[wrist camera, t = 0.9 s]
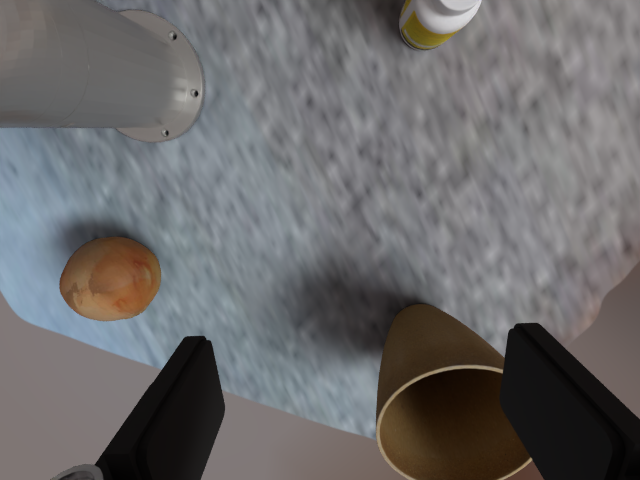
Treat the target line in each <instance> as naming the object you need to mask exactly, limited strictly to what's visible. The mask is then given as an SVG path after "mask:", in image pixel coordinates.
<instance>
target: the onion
mask: <svg viewBox="0 0 640 480" xmlns="http://www.w3.org/2000/svg"><path fill="white" fill-rule="evenodd" d="M160 282H161V269H160V265H159V262H158V260H157V258H156V256H155V255H154V254H153V253H152V252H151V251H150V250H149V249H147V248H146V247H145V246H143V245H142V244H140V243H138V242H136V241H134V240H132V239H128V238H124V237H106V238H98V239H94V240H91V241H89V242H87V243H85V244H84V245H82V246H81V247H80V248H79V249H78V250H77V251H75V253H74V254H73V255H72V256H71V257H70V259H69V260H68V262H67V264H66V266H65V268H64V270H63V272H62V275H61V278H60V292H61V295H62V297H63V298H64V300H65V301H66V303H67V304H68V305H69V307H71V308H72V309H73V310H74V311H75V312H76V313H78V314H79V315H81V316H84V317H86V318H89V319H93V320H98V321H115V320H120V319H128V318H132V317H134V316H137V315H139V314H140V313H142V312H143V311H144V310H145V309H146V308H147V306H148V305H149V304H150V302H151V301H152V300H153V298H154V297H155V295H156V294H157V292H158V289H159V287H160Z"/></svg>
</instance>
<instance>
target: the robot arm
mask: <svg viewBox="0 0 640 480" xmlns="http://www.w3.org/2000/svg"><path fill="white" fill-rule="evenodd" d="M175 36H177V38H176V40H175ZM196 92H198V96H196ZM204 98H205V78H204V73H203V68H202V65H201V62H200V60H199V57H198V55H197V53H196V51H195V49H194V48H193V46H192V44H191V43H190V42H189V40H188V39H187V38H186V37H185V35H184V34H183V33H182V32H181V31H180V30H178V29H177V28H176V27H175V26H174V25H172V24H171V23H169V22H168V21H166V20H165V19H163V18H161V17H159V16H157V15H155V14H153V13H149V12H146V11H142V10H125V11H120V12H115V11H113V10H111V9H109V8H108V7H106V6H104V5H102V4H100V3H98V2H96V1H94V0H0V128H115V129H117V130H118V131H119V132H121V133H123V134H124V135H126V136H128V137H130V138H133V139H136V140H139V141H144V142H150V143H152V142H164V141H170V140H173V139H175V138H178V137H180V136H181V135H183V134H184V133H186V132H187V131H188V130H189V129H190V128H191V127H192V126H193V125H194V123H195V122H196V120H197V119H198V117H199V115H200V113H201V110H202V107H203V104H204ZM167 131H168V132H169V135H168V134H167ZM499 401H500V405H501V408H502V410H503V412H504V414H505V415H506V417H507V419H508V420H509V422H510V424H511V425H512V427H513V428H514V430H515V432H516V433H517V435H518V437H519V438H520V440H521V442H522V443H523V445H524V447H525V448H526V450H527V452H528V453H529V455H530V457H531V458H532V460H533V462H534V463H535V465H536V467H537V468H538V470H539V472H540V473H541V475H542V477H543V478H544V480H640V419H639V418H638V417H637V416H636V415H635V414H633V413H632V412H631V411H630V410H629V409H628V408H627V407H626V406H625V405H624V404H623V403H622V402H621V401H620V400H619V399H618V398H617V397H616V396H615V395H614V394H612V393H611V392H610V391H609V390H608V389H607V388H606V387H605V386H604V385H603V384H602V383H601V382H600V381H599V380H598V379H597V378H596V377H595V376H594V375H593V374H591V373H590V372H589V371H588V370H587V369H586V368H585V367H584V366H583V365H582V364H581V363H580V362H579V361H578V360H577V359H576V358H575V357H574V356H573V355H572V354H570V353H569V352H568V351H567V350H566V349H565V348H564V347H563V346H562V345H561V344H560V343H559V342H558V341H557V340H556V339H555V338H554V337H553V336H552V335H551V334H550V333H548V332H547V331H546V330H545V329H544V328H543V327H542V326H541V325H540V324H538V323H518V324H516V325H515V326H514V329H510V330H509V333H508V339H507V346H506V353H505V360H504V367H503V374H502V381H501V388H500V395H499ZM224 412H225V404H224V399H223V394H222V389H221V384H220V380H219V375H218V370H217V365H216V361H215V356H214V351H213V347H212V343H211V341H210V340H206V338H205V336H187V337H185V338H184V339H183V340H182V342H181V343H180V344H179V346H178V347H177V349H176V350H175V352H174V353H173V355H172V356H171V357H170V359H169V360H168V362H167V363H166V365H165V366H164V368H163V369H162V370H161V372H160V373H159V375H158V376H157V378H156V379H155V381H154V382H153V383H152V384H151V385H150V386H149V388H148V389H147V391H146V392H145V393H144V395H143V396H142V398H141V399H140V400H139V402H138V404H137V405H136V406H135V408H134V409H133V411H132V412H131V414H130V415H129V416H128V418H127V419H126V421H125V422H124V423H123V425H122V426H121V428H120V429H119V431H118V432H117V433H116V435H115V436H114V438H113V439H112V441H111V442H110V443H109V445H108V447H107V448H106V449H105V451H104V452H103V453H102V455H101V456H100V458H99V459H98V461H97V462H96V464H95V465H91V464H83V465H79V466H75V467H72V468H70V469H68V470H65V471H63V472H61V473H60V474H58V475H57V476H55V477H53V478H52V479H50V480H201V477H202V474H203V471H204V469H205V466H206V463H207V460H208V458H209V455H210V453H211V450H212V447H213V444H214V441H215V439H216V436H217V434H218V431H219V428H220V425H221V423H222V420H223V417H224Z"/></svg>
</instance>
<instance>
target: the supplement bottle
mask: <svg viewBox="0 0 640 480" xmlns="http://www.w3.org/2000/svg"><path fill="white" fill-rule="evenodd" d="M481 1H482V0H406V1H405V3H404V5H403V7H402V10H401V13H400V17H399V29H400V33H401V36H402V38H403V40H404V41H405V42H406V44H407V45H409V46H410V47H411V48H413V49H415V50H419V51H428V50H431V49H434V48H436V47H438V46H440V45H441V44H443V43H444V42H445V41H446V40H448V39H449V38H450V37H451V36H453V35H454V34H455V33H456V32H458V31H459V30H460V29H461V28H463V27H464V26H465V25H466V24H467V23H468V22H469V21H470V20H471V19H472V18H473V16H474V15H475V14H476V12H477V10H478V8H479V6H480V4H481Z"/></svg>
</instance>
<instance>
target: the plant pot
mask: <svg viewBox="0 0 640 480" xmlns="http://www.w3.org/2000/svg"><path fill="white" fill-rule="evenodd" d="M504 360H505V358H504V357H503V356H502V355H501V354H500V353H499V352H498V351H496V350H495V349H494V348H493V347H492V346H491V345H490V344H488V343H487V342H486V341H485V340H484V339H482V338H481V337H480V336H479V335H478V334H476V333H475V332H474V331H472V330H471V329H470V328H468V327H467V326H466V325H464V324H463V323H461V322H460V321H458V320H457V319H455V318H454V317H452V316H450V315H449V314H447V313H445V312H443V311H441V310H440V309H438V308H436V307H433V306H431V305H427V304H416V305H411V306H409V307H406V308H404V309H403V310H401V311H400V312H399V313H398V314H397V315H396V316H395V318H394V320H393V322H392V324H391V327H390V329H389V332H388V335H387V338H386V342H385V346H384V350H383V355H382V360H381V366H380V372H379V381H378V391H377V410H376V439H377V444H378V447H379V450H380V452H381V453H382V456H383V457H384V459H385V460H386V461H387V462H388V464H389V465H390V466H391V467H392V468H393V469H394V470H396V471H397V472H398V473H399V474H401V475H402V476H404V477H406V478H407V479H409V480H504V479H505V478H507V477H509V476H511V475H513V474H515V473H516V472H518V471H519V470H521V469H522V468H523V467H525V466H526V465H527V464H528V463H529V462H530V461H531V460H532V458H531V457H530V455H529V453H528V452H527V450H526V448H525V447H524V445H523V443H522V442H521V440H520V438H519V437H518V435H517V433H516V432H515V430H514V428H513V427H512V425H511V424H510V422H509V420H508V419H507V417H506V415H505V414H504V412H503V410H502V408H501V405H500V401H499V395H500V388H501V381H502V374H503V367H504Z"/></svg>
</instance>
